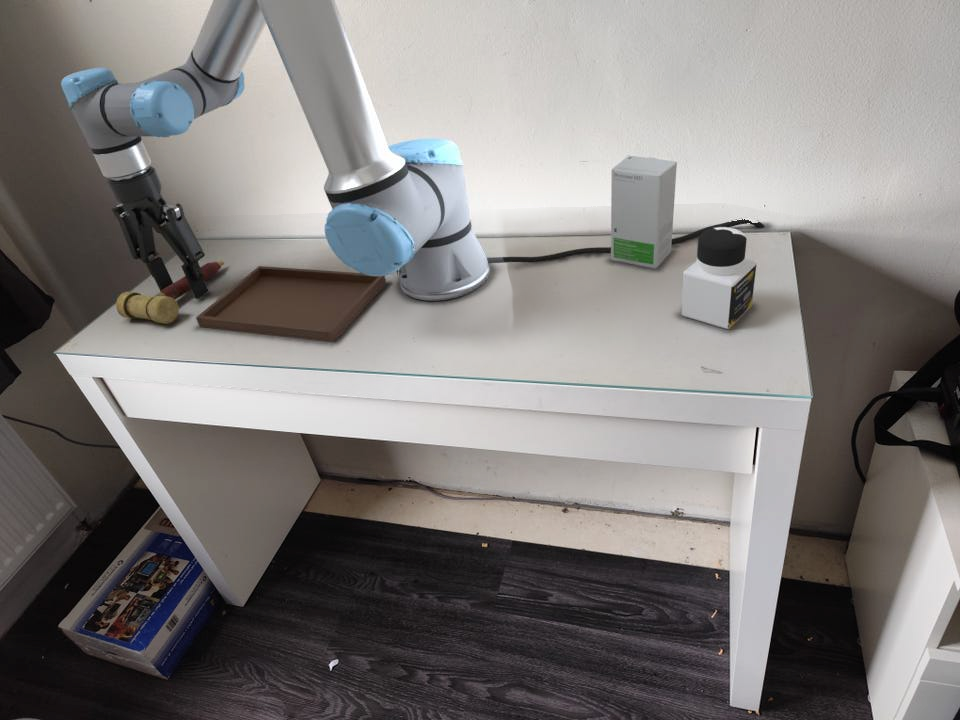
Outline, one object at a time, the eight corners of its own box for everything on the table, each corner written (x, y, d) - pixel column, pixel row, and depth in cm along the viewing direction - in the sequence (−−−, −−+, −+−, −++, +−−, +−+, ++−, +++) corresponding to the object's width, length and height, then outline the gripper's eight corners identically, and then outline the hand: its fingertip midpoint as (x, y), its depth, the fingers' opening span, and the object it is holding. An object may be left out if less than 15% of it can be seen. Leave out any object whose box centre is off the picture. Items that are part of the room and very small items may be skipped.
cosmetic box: (610, 261, 110) (607, 169, 101) (627, 243, 114) (626, 154, 105) (658, 269, 106) (660, 175, 97) (674, 251, 110) (677, 158, 101)
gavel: (199, 249, 130) (239, 252, 126) (207, 270, 132) (246, 274, 128) (111, 299, 114) (152, 304, 110) (121, 322, 116) (162, 328, 112)
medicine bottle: (728, 330, 90) (736, 251, 83) (680, 316, 95) (683, 239, 88) (752, 306, 94) (761, 227, 87) (705, 293, 98) (710, 217, 91)
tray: (386, 284, 115) (384, 274, 114) (333, 342, 102) (330, 332, 101) (262, 274, 125) (259, 265, 123) (199, 327, 112) (195, 317, 111)
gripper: (192, 163, 108) (242, 286, 121) (102, 163, 115) (158, 279, 128) (159, 181, 102) (215, 308, 115) (67, 180, 110) (130, 300, 123)
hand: (185, 293), depth 122 cm, fingers closed on gavel, 7 cm apart
